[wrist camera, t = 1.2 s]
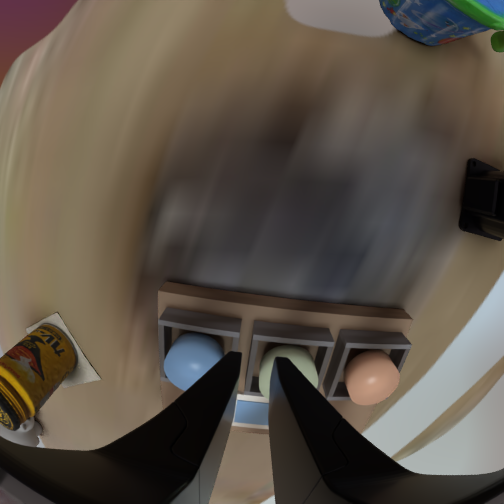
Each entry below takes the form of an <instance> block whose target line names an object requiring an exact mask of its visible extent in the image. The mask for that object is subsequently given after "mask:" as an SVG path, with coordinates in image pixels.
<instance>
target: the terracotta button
mask: <svg viewBox="0 0 504 504" xmlns="http://www.w3.org/2000/svg"><path fill="white" fill-rule="evenodd" d="M343 377H344V381H345V384H346V387H347V390H348V393H349V395H350V398H351V400H352V401H353V402H354V403H356V404H359V405H372V404H376V403H378V402H381V401H382V400H384V399H386V398H387V397H388V396H390V395H391V394H392V393H393V392H394V390H395V389H396V387H397V386H398V383H399V380H400V374H399V371H398V370H397V368H396V366H395V365H394V363H393V362H392V360H391V359H390V357H389V356H388V354H387V353H385V352H384V351H381V350H369V351H365V352H363V353H361V354H359V355H357V356H356V357H354V358H353V359H352V360H351V361H350V362H349V363H348V365H347V366H346V368H345V370H344V375H343Z"/></svg>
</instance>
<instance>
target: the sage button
mask: <svg viewBox="0 0 504 504" xmlns="http://www.w3.org/2000/svg"><path fill="white" fill-rule="evenodd" d="M276 356H279V357H287V358H289V359H290V360H291V361H292V362H293V364H294V365H295V366H296V367H297V368H298V369H299V370H300V371H301V372H302V373H303V375H304V376H305V377H306V378H307V379H308V380H309V381H310V382H311V383H312V384H313V385H314V386H315V388H317V386H318V375H317V371H316V367H315V364H314V360H313V357H312V355H311V354H310V353H309V352H308V351H307V350H306V349H304V348H302V347H300V346H296V345H282V346H278V347H275V348H273V349H271V350H270V351H268V352H267V353H266V354H265V355H264V356H263V358H262V359H261V361H260V366H259V388H260V391H261V393H262V395H263V396H264V397H265V398H266V399H268V400H269V389H270V377H271V372H272V367H273V363H274V359H275V357H276Z"/></svg>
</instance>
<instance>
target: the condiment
mask: <svg viewBox="0 0 504 504" xmlns="http://www.w3.org/2000/svg"><path fill="white" fill-rule="evenodd" d="M26 331H27V333H28V335H27V336H26V337H25V338H24V339H22V340H21V341H20V342H18V344H16V345H15V346H14V347H13V348H12V349H10V350H9V351H8V352H7V353H5V355H3V356H2V357H1V358H0V424H2V425H3V426H4V427H5V428H7V429H9V430H11V431H17V430H18V429H19V428H20V425H21V424H22V423H24V422H25V421H26V420H27V419H28V418H29V417H33V416H34V415H35V414H36V413H37V412H38V411H39V409H40V408H41V407H42V406H43V405H44V404H45V402H46V401H47V400H48V399H49V397H50V396H51V395H52V394H53V392H54V391H55V390H56V389H57V388H58V387H59V385H60V384H62V386H63V387H64V388H67V387H70V386H74V385H78V384H83V383H85V382H86V383H87V382H91V381H96V380H100V379H101V378H100V377H99V376H98V375H97V373H96V372H95V370H94V369H93V367H92V366H91V365H90V364H89V362H88V360H87V359H86V358H85V357H84V354H83V353H82V352H81V350H80V348H79V346H78V345H77V343H76V341H75V340H74V339H73V337H72V335H71V334H70V332H69V330H68V329H67V327H66V326H65V324H64V322H63V320H62V319H61V317H60V316H59V314H58V313H55V314H53V315H51V316H49V317H47V318H45V319H43V320H41V321H40V322H38V323H36V324H34V325H32V326H31V327H29V328H27V329H26ZM78 364H79V365H78ZM79 367H80V368H79Z"/></svg>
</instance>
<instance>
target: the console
mask: <svg viewBox="0 0 504 504" xmlns="http://www.w3.org/2000/svg"><path fill="white" fill-rule="evenodd" d="M412 321H413V319H412V318H411V317H410V316H409V315H408V314H407V313H406V312H405V310H404V309H392V308H379V307H367V306H356V305H345V304H335V303H325V302H315V301H306V300H297V299H288V298H280V297H272V296H264V295H256V294H248V293H241V292H233V291H226V290H219V289H212V288H205V287H199V286H192V285H185V284H179V283H173V282H167V281H166V282H165V283H164V285H163V286H162V287H161V288H160V289H159V290H158V337H159V362H160V379H161V393H162V405H163V410H164V409H165V408H166V407H167V406H169V405H170V404H171V403H172V402H174V401H175V400H176V399H177V398H178V397H179V396H180V395H181V394H183V393H184V392H185V391H184V390H182V389H180V388H178V387H177V386H175V385H174V384H173V383H172V382H171V381H170V380H169V379H168V377H167V376H166V374H165V371H164V361H165V358H166V356H167V354H168V352H169V350H170V348H171V346H172V344H173V343H174V341H175V340H176V339H177V338H178V337H179V336H181V335H183V334H186V333H192V332H195V333H202V334H205V335H207V336H210V337H211V338H213V339H214V340H216V341H217V342H218V343H219V344H220V345H221V347H222V348H223V351H224V353H225V355H226V354H227V353H228V352H229V351H236V352H241V353H242V362H241V372H240V379H239V386H238V393H237V400H236V407H235V413H234V418H233V422H232V426H231V429H230V431H238V432H247V433H257V434H269V427H268V408H269V400H268V399H266V398H265V397H264V396H263V395H262V393H261V391H260V388H259V366H260V361H261V359H262V358H263V356H264V355H265V354H266V353H267V352H268V351H270V350H271V349H273V348H275V347H278V346H282V345H296V346H300V347H302V348H304V349H306V350H307V351H308V352H309V353H310V354H311V355H312V357H313V360H314V364H315V367H316V371H317V375H318V386H317V388H316V389H317V390H318V391H319V392H320V393H321V394H322V395H323V396H324V397H325V398H326V399H327V400H328V401H329V402H330V404H331V405H332V406H333V407H334V408H335V409H336V410H337V411H338V412H339V413H340V414H341V415H342V416H343V418H345V419H346V420H347V421H348V422H349V423H350V424H351V425H352V426H353V427H354V428H355V429H356V430H357V431H358V432H359V433H360V434H361V433H362V431H363V429H364V427H365V426H366V424H367V422H368V420H369V418H370V416H371V415H372V413H373V411H374V409H375V407H376V405H377V403H376V404H372V405H359V404H356V403H354V402H353V401H352V400H351V398H350V395H349V393H348V390H347V387H346V384H345V381H344V377H343V375H344V370H345V368H346V366H347V365H348V363H349V362H350V361H351V360H352V359H353V358H354V357H356V356H357V355H359V354H361V353H363V352H365V351H369V350H381V351H384V352H385V353H387V354H388V356H389V357H390V359H391V360H392V362H393V363H394V365H395V366H396V368H397V370H398V371H399V373H400V371H401V369H402V367H403V364H404V362H405V360H406V357H407V355H408V353H409V350H410V348H411V345H412V344H411V343H410V342H409V340H408V339H407V335H408V332H409V330H410V327H411V324H412ZM387 398H388V397H387ZM387 398H386V399H387Z"/></svg>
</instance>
